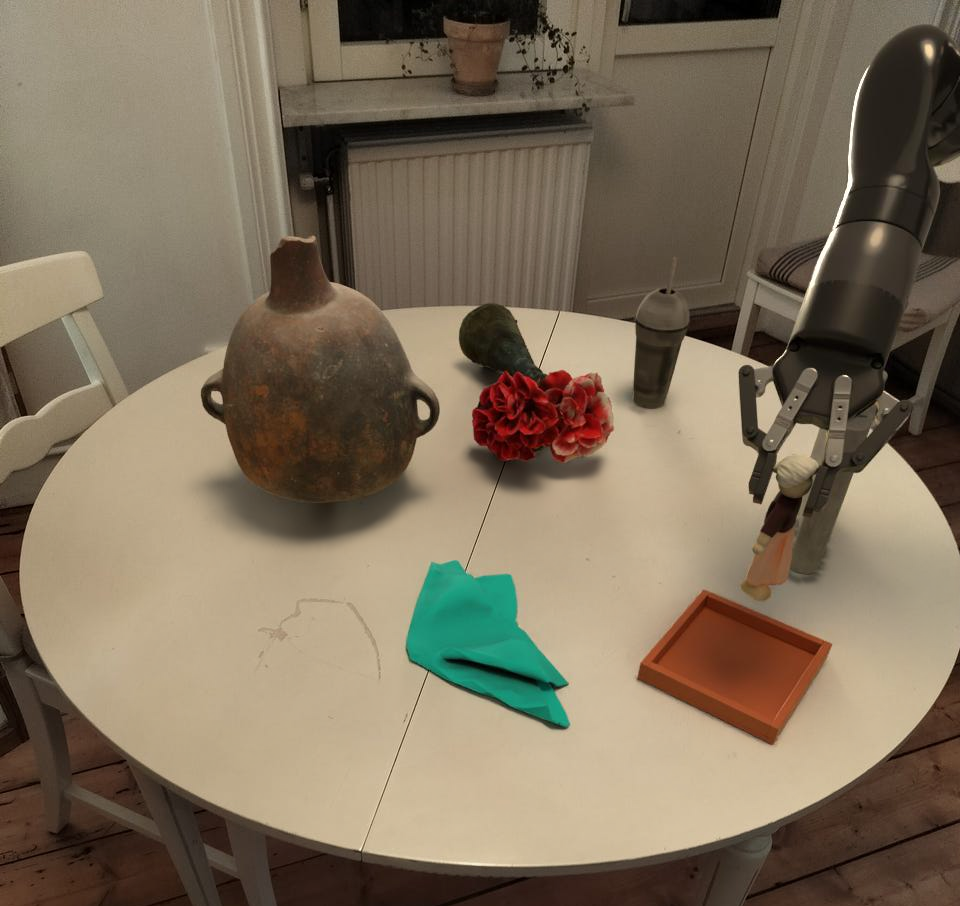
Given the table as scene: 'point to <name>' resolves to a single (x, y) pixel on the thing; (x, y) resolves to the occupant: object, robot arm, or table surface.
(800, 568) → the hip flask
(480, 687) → the cloth
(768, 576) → the grandmother figurine
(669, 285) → the beverage cup
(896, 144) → the robot arm
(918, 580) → the table surface
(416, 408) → the jug
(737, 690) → the figure tray
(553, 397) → the carnation
